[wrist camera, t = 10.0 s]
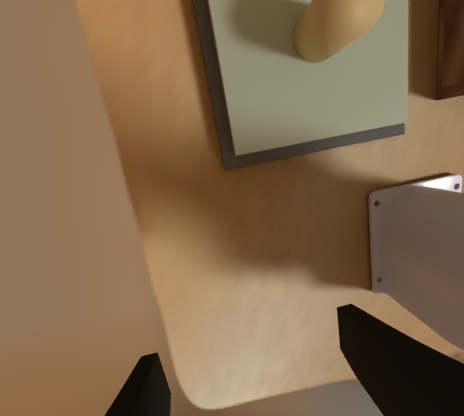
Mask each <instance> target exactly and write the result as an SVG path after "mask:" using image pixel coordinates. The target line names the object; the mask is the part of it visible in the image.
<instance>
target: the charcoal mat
mask: <svg viewBox="0 0 464 416" xmlns="http://www.w3.org/2000/svg"><path fill="white" fill-rule="evenodd" d="M192 1H193V7H194V12H195V17H196V23H197V28H198V33H199V38H200V44H201V49H202V54H203V60H204V65H205V70H206V75H207V81H208V86H209V91H210V96H211V102H212V107H213V112H214V118H215V123H216V128H217V133H218V139H219V144H220V149H221V154H222V160H223V165H224V169H225V170H226V169H231V168H236V167H241V166H246V165H251V164H256V163H261V162H266V161H271V160H276V159H281V158H286V157H291V156H296V155H301V154H306V153H311V152H316V151H321V150H326V149H332V148H337V147H342V146H347V145H352V144H357V143H362V142H367V141H372V140H377V139H382V138H387V137H392V136H397V135H402V134H404V123H401V124H395V125H390V126H385V127H380V128H375V129H370V130H365V131H360V132H355V133H350V134H345V135H339V136H334V137H329V138H324V139H319V140H314V141H309V142H304V143H299V144H294V145H289V146H283V147H278V148H273V149H268V150H263V151H258V152H253V153H248V154H243V155H238V156H235V153H234V147H233V142H232V136H231V130H230V125H229V119H228V113H227V108H226V102H225V96H224V91H223V85H222V80H221V74H220V68H219V63H218V57H217V51H216V46H215V40H214V34H213V29H212V23H211V18H210V12H209V6H208V1H207V0H192Z"/></svg>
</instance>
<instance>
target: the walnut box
mask: <svg viewBox="0 0 464 416" xmlns="http://www.w3.org/2000/svg"><path fill="white" fill-rule="evenodd" d="M462 95H464V0H440V9H439V39H438V69H437V99H436V100H441V99H446V98H451V97H457V96H462Z"/></svg>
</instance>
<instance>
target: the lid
mask: <svg viewBox="0 0 464 416" xmlns="http://www.w3.org/2000/svg"><path fill="white" fill-rule="evenodd" d="M207 1H208V6H209V12H210V18H211V23H212V29H213V34H214V40H215V46H216V51H217V57H218V63H219V68H220V74H221V80H222V85H223V91H224V96H225V102H226V108H227V113H228V119H229V125H230V130H231V136H232V142H233V147H234V153H235V156H238V155H243V154H248V153H253V152H258V151H263V150H268V149H273V148H278V147H283V146H289V145H294V144H299V143H304V142H309V141H314V140H319V139H324V138H329V137H334V136H339V135H345V134H350V133H355V132H360V131H365V130H370V129H375V128H380V127H385V126H390V125H395V124H401V123H406V122H408V0H207Z"/></svg>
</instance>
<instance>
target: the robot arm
mask: <svg viewBox="0 0 464 416" xmlns="http://www.w3.org/2000/svg"><path fill="white" fill-rule="evenodd" d="M454 185H455V187H454ZM461 190H462V177H461V175H459V174H451V175H446V176H442V177H437V178H432V179H428V180H423V181H418V182H414V183H409V184H404V185H400V186H395V187H390V188H386V189H381V190H377V191H373V192H371V193H370V195H369V224H370V251H371V277H372V291H373V292H374V293H375V294H377V295H381V294H385V293H387V294H388V295H389V296H390V297H392V298H393V299H394V300H395V301H397V302H398V303H399V304H401V305H402V306H403V307H404V308H406V309H407V310H408V311H409V312H411V313H412V314H413V315H414V316H416V317H417V318H418V319H420V320H421V321H422V322H423V323H425V324H426V325H427V326H428V327H430V328H431V329H432V330H434V331H435V332H436V333H437V334H439V335H440V336H441V337H442V338H444V339H445V340H447V341H448V342H450V343H452V344H453V345H455V346H457V347H459V348H461V349H463V350H464V193H461ZM376 201H377V204H376V205H374V204H375V202H376ZM378 278H379V279H378ZM377 279H378V280H377ZM337 314H338V326H339V339H340V349H341V351H342V353H343V354H344V356H345V358H346V360H347V362H348V363H349V365H350V367H351V369H352V370H353V372H354V374H355V375H356V377H357V378H358V380H359V381H360V383H361V384H362V385H363V387H364V388H365V390H366V391H367V393H368V394H369V395H370V397H371V398H372V400H373V401H374V403H375V404H376V405H377V407H378V408H379V409H380V411H381V412H382V414H383V415H384V416H464V364H463V363H461V362H459V361H457V360H455V359H453V358H450V357H448V356H446V355H444V354H442V353H440V352H438V351H436V350H434V349H432V348H430V347H428V346H426V345H424V344H422V343H420V342H419V341H417V340H415V339H413V338H411V337H409V336H407V335H405V334H404V333H402V332H400V331H398V330H396V329H395V328H393V327H391V326H389V325H387V324H386V323H384V322H382V321H380V320H379V319H377V318H375V317H374V316H372V315H370V314H368V313H367V312H365V311H363V310H361V309H360V308H358V307H356V306H354V305H352V304H349V305H345V306H341V307H337ZM170 401H171V392H170V390H169V386H168V383H167V380H166V377H165V374H164V371H163V368H162V365H161V361H160V358H159V355H158V353H154V354H150V355H146V356H142V357H141V358H140V359H139V361H138V363H137V364H136V366H135V368H134V369H133V371H132V373H131V374H130V376H129V378H128V379H127V381H126V383H125V384H124V386H123V388H122V389H121V391H120V392H119V394H118V395H117V397H116V399H115V400H114V402H113V403H112V405H111V407H110V408H109V410H108V411H107V413H106V414H105V416H170V404H171V402H170Z"/></svg>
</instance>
